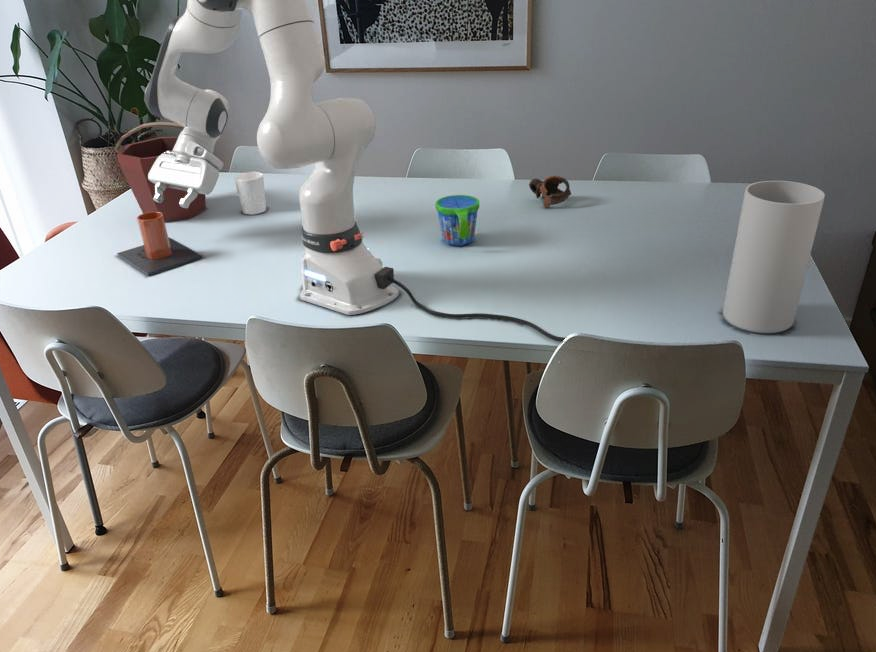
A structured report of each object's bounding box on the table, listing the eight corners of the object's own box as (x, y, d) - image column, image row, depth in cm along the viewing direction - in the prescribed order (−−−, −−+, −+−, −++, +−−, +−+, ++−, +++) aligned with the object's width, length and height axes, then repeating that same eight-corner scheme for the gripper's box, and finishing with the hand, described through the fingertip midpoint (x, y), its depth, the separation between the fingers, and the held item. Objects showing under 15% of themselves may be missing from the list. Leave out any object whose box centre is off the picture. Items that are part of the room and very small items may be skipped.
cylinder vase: (714, 304, 146) (736, 181, 133) (780, 304, 145) (809, 180, 132) (732, 335, 136) (757, 204, 123) (803, 335, 134) (836, 203, 121)
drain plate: (202, 258, 180) (201, 255, 180) (148, 276, 173) (147, 273, 172) (169, 239, 192) (168, 237, 192) (117, 256, 185) (116, 253, 184)
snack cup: (435, 230, 188) (433, 192, 183) (476, 228, 188) (475, 189, 183) (438, 255, 174) (437, 214, 169) (483, 252, 175) (482, 211, 169)
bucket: (230, 199, 218) (213, 113, 205) (199, 227, 199) (178, 133, 186) (154, 199, 222) (133, 114, 209) (116, 225, 204) (91, 134, 191)
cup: (176, 254, 181) (166, 215, 176) (153, 261, 178) (143, 222, 173) (165, 247, 185) (156, 209, 180) (142, 255, 182) (132, 216, 177)
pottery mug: (572, 198, 204) (577, 178, 197) (560, 223, 200) (564, 203, 193) (532, 184, 207) (536, 163, 200) (519, 208, 203) (522, 188, 196)
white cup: (262, 215, 204) (256, 180, 199) (236, 215, 206) (229, 180, 201) (272, 206, 211) (267, 171, 206) (247, 205, 212) (241, 171, 207)
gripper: (154, 143, 185) (132, 192, 183) (211, 151, 175) (189, 204, 173) (172, 156, 190) (151, 204, 188) (228, 165, 180) (207, 216, 178)
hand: (170, 204), depth 181 cm, fingers open, 8 cm apart
